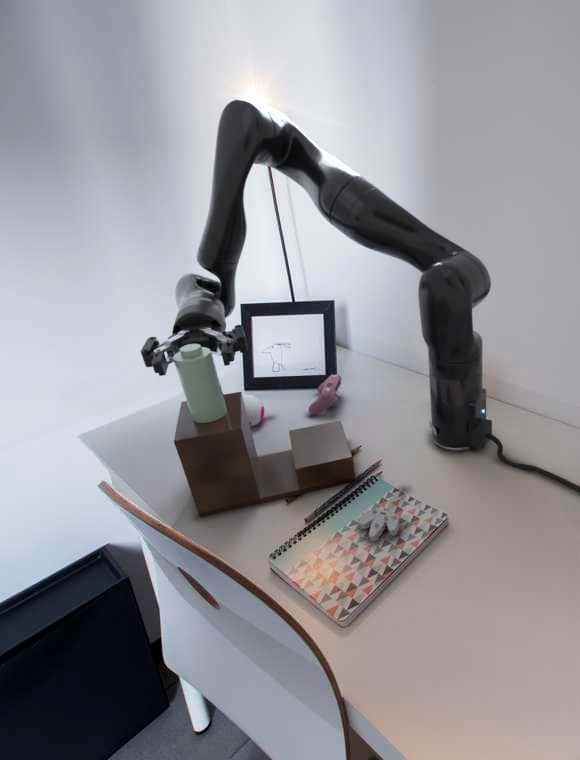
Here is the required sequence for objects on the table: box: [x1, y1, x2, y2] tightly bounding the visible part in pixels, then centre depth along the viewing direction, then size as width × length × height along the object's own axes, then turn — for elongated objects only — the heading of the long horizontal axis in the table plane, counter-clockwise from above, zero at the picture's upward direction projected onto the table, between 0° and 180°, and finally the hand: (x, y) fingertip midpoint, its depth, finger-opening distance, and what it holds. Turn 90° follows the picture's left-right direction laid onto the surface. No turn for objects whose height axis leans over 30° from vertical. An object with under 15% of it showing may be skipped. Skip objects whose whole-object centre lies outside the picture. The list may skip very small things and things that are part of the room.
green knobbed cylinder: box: [173, 344, 227, 423], centre depth 77 cm, size 5×5×11 cm
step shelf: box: [173, 391, 357, 518], centre depth 85 cm, size 24×12×14 cm, turn 109°
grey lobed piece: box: [359, 487, 405, 543], centre depth 79 cm, size 6×12×3 cm, turn 0°
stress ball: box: [242, 394, 270, 427], centre depth 104 cm, size 8×8×7 cm
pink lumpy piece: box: [308, 373, 343, 415], centre depth 109 cm, size 10×5×7 cm, turn 179°
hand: (193, 364), depth 74 cm, fingers open, 8 cm apart
